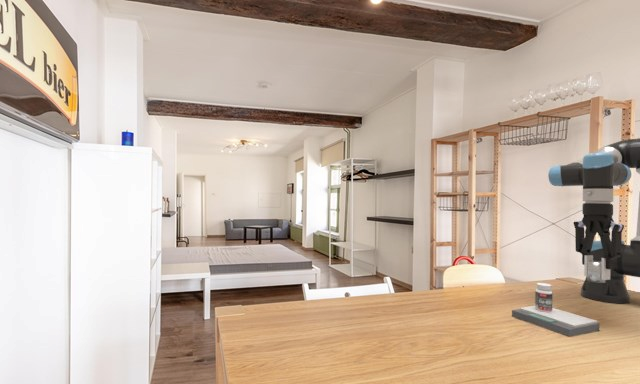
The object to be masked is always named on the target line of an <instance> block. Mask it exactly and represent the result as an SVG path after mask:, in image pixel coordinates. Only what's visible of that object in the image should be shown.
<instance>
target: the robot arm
mask: <svg viewBox="0 0 640 384" xmlns="http://www.w3.org/2000/svg"><path fill="white" fill-rule="evenodd" d="M631 169H635V171H636V173H637V174H639V175H640V137H639V138H638V137H637V138H628V139H623V140H620V141H617V142H613V143H610V144H608V145H606V146H605V145H604V146H602V147H600V148H598V149H597V150H595V152H594V153H587V154H585V155H584V156H583V157H582V158H581V159H578V160H576V161H573V162H570V163H568V164H566V165H565V164H563V165H561V164H559V165H555V166H551V167H550V168H549V170H548V176H547V177H548V182H549V184H550V185H552V186H555V187H562V188H563V187H575V186H576V187H578V186H579V187H580V186H582V202H584V203H582V211H581V212H582V214H583V217H582V219H581V220H578V221H574V222H573V227H574V230H575V240H574V241H575V252H577V253H580V254H581V255H582V256H581V257H582V258H581V264H582V265H584V266H583V267H584V271H583V272H584V273H583V274H584V275H583V276H584V277H585V279H584V282H583V284H582V286H581V288H580V295H581V296H582V297H585V298H587V299H590V300H595V301H599V302H605V303H611V304H629V303H630V299H631V298H630V294H629V292H628V288H627V287H626V284H625V280H624V279H625V276H630V277H634V278H635V277H636V278H640V192H639V194H638V209H637V222H636V235H635V237H633V238H631V239H630V242H629V243H630V244H625V242H624V240H622V238H623V237H622V236H623V234H622V233H623V230H624V228H625V225H624V224H620V223H616V221H614V218H613V216H614V204H613V203H612V202H614V186H616V187H618V186H622V185H623V186H624V185H625V184H627V183H628V182H629V181H630V180H631V178H632V170H631ZM610 229H611V231H610ZM596 235H598V236H599V238H600V240H595V236H596ZM588 261H600V262H602V265H601V279H602V280H605V283H598V282H592V281H588V280H587V273H588Z"/></svg>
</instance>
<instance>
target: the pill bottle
mask: <svg viewBox="0 0 640 384" xmlns="http://www.w3.org/2000/svg"><path fill="white" fill-rule="evenodd" d="M534 293H535V297H534V306H535V309H536V310H539V311H543V312H552V308H553V291H552V284H550V283H545V282H537V283H536V289H535V292H534Z"/></svg>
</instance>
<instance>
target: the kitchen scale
mask: <svg viewBox="0 0 640 384" xmlns="http://www.w3.org/2000/svg"><path fill="white" fill-rule="evenodd" d="M511 316H512V317H513V318H514V319H515V318H516V319H518V320H521V321H524V322H527V323H529V324H533V325H535V326H538V327H541V328H543V327H544V329H547V330H550V331H553V332H554V333H558V334H561V335H563V336H566V337H569V338H570V337H574V336H579V335H585V334H588V333H593V332H598V331H600V323H599V321H598V320H596V319H592V318H589V317H585V316H582V315H578V314H576V313H572V312H569V311H564V310H561V309H558V308H554V307H552V312H543V311H539V310H536V309H535V305H531V306H524V307H519V308H517V309H512V310H511Z"/></svg>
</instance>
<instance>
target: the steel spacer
mask: <svg viewBox="0 0 640 384" xmlns="http://www.w3.org/2000/svg"><path fill="white" fill-rule="evenodd" d="M601 265H602V262H600V261H588V273H587V280H588V281H592V282H598V283H605V280H602V279H601Z"/></svg>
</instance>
